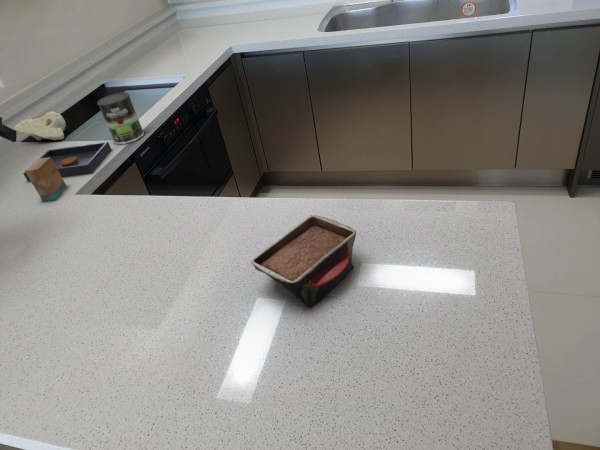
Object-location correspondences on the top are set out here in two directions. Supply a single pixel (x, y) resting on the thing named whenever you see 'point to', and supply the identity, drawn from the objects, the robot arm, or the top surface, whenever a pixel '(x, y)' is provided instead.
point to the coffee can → (121, 118)
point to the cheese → (43, 127)
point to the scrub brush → (46, 179)
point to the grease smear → (69, 161)
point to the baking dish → (310, 258)
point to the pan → (85, 154)
